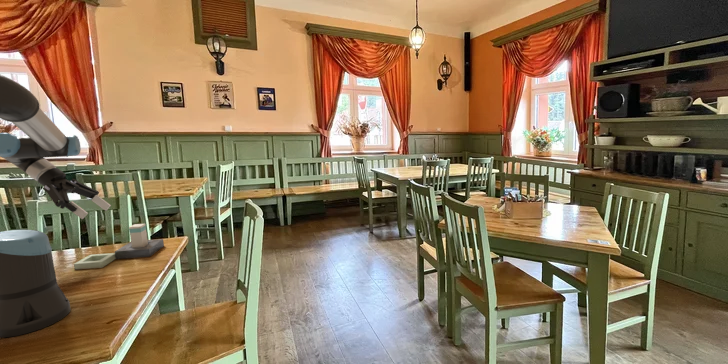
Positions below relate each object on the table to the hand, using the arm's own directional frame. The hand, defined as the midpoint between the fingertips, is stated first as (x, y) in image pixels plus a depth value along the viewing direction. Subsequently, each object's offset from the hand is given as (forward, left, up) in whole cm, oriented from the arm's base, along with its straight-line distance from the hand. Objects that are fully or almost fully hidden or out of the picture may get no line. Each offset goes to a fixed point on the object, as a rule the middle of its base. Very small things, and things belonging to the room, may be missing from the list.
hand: (97, 212), depth 130 cm
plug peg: (+4, -12, -17) cm, 22 cm away
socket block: (+4, -12, -17) cm, 22 cm away
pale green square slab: (-7, -3, -17) cm, 19 cm away
